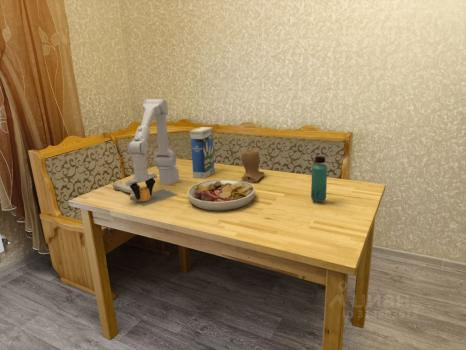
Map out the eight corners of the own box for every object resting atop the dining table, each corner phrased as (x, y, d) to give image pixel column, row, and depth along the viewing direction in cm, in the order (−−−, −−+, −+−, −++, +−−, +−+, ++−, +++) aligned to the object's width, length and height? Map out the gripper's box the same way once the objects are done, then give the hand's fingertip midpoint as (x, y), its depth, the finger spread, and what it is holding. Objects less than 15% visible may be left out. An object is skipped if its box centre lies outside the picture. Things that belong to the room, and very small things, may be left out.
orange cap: (148, 196, 153) (147, 186, 151) (151, 200, 149) (150, 189, 147) (137, 198, 151) (136, 188, 149) (139, 202, 147) (138, 191, 145)
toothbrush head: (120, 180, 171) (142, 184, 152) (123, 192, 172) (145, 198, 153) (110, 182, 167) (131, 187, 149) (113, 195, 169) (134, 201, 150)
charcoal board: (163, 190, 164) (162, 182, 162) (178, 196, 155) (177, 187, 154) (129, 201, 152) (128, 192, 150) (143, 208, 143) (142, 198, 142)
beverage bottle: (326, 199, 146) (329, 155, 140) (325, 205, 140) (327, 159, 134) (311, 198, 148) (313, 154, 142) (309, 204, 142) (311, 158, 136)
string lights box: (205, 178, 180) (202, 131, 172) (192, 177, 182) (189, 130, 175) (215, 171, 191) (212, 127, 184) (203, 170, 194) (200, 126, 186)
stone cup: (246, 173, 187) (245, 147, 182) (266, 175, 182) (266, 148, 178) (235, 181, 173) (234, 153, 169) (257, 184, 169) (257, 155, 164)
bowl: (209, 185, 170) (208, 170, 167) (264, 193, 157) (264, 177, 154) (174, 207, 144) (173, 190, 142) (237, 218, 131) (237, 199, 129)
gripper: (149, 162, 153) (152, 190, 157) (120, 170, 143) (124, 199, 147) (158, 165, 148) (161, 194, 152) (129, 173, 138) (133, 203, 142)
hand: (144, 197), depth 149 cm, fingers open, 5 cm apart
